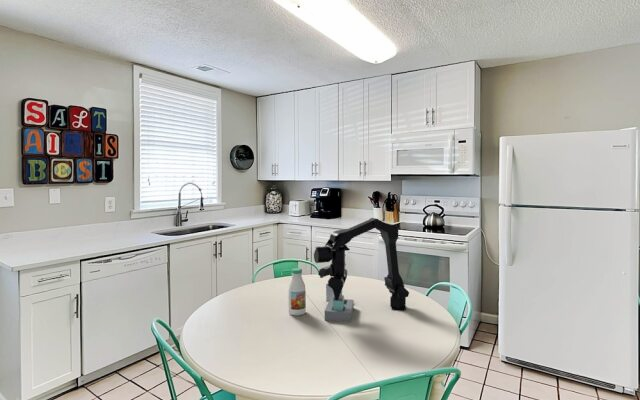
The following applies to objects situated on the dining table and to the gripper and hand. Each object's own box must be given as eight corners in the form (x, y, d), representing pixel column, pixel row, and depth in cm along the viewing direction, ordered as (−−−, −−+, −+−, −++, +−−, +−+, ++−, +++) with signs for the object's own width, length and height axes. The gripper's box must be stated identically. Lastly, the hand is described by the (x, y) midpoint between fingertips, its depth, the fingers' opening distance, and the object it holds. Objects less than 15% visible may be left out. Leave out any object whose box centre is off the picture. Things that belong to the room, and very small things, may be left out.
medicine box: (333, 302, 174) (333, 285, 173) (325, 300, 177) (325, 283, 176) (342, 298, 180) (342, 281, 180) (335, 296, 183) (335, 279, 182)
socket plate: (353, 308, 167) (353, 299, 167) (350, 321, 151) (350, 312, 151) (330, 306, 169) (330, 298, 169) (324, 320, 153) (324, 311, 153)
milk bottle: (285, 314, 160) (284, 270, 158) (294, 308, 167) (293, 266, 165) (300, 317, 156) (299, 272, 155) (308, 311, 163) (308, 268, 162)
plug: (343, 315, 158) (343, 295, 157) (342, 319, 154) (342, 298, 153) (334, 315, 158) (334, 294, 158) (333, 318, 154) (333, 297, 154)
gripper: (323, 255, 165) (323, 288, 166) (315, 265, 147) (315, 302, 148) (347, 256, 163) (347, 290, 164) (342, 266, 145) (342, 304, 146)
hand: (338, 296), depth 155 cm, fingers open, 9 cm apart
